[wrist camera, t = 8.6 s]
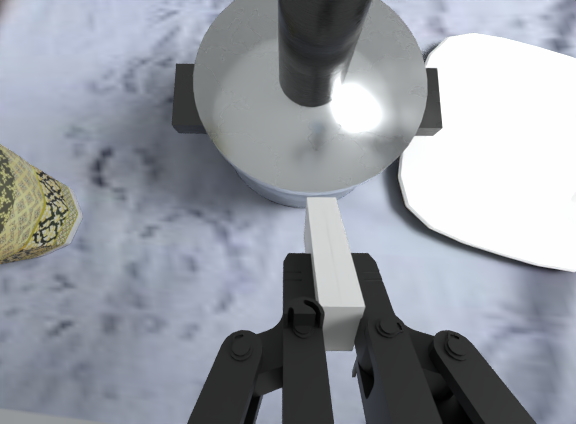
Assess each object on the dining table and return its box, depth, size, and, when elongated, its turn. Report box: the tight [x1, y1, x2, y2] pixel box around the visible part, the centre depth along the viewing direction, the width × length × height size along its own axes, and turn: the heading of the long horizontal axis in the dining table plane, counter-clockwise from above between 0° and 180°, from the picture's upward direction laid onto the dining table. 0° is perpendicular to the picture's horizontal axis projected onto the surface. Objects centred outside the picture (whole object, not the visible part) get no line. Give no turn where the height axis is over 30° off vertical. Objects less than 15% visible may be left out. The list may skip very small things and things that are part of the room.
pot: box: [172, 64, 443, 208], centre depth 24 cm, size 20×15×7 cm
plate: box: [397, 33, 576, 272], centre depth 28 cm, size 22×22×2 cm
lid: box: [193, 0, 427, 196], centre depth 16 cm, size 16×16×10 cm
